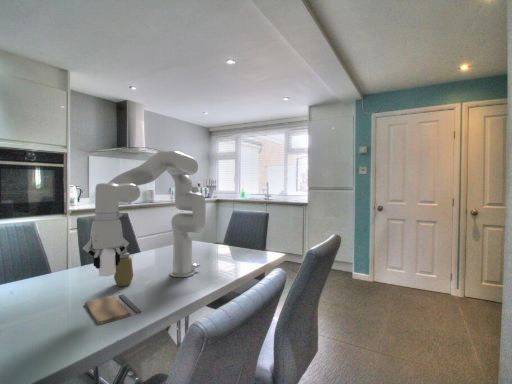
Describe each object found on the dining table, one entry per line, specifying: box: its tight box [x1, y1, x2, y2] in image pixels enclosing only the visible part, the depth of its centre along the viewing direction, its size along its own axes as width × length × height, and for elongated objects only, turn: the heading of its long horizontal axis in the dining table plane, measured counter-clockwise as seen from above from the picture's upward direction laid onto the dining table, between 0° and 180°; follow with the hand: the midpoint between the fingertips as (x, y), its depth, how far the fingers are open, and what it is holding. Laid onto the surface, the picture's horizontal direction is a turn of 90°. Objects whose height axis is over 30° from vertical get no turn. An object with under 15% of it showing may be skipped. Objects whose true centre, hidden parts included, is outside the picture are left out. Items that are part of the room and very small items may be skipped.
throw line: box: [118, 294, 142, 314], centre depth 108 cm, size 2×20×1 cm, turn 42°
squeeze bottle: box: [113, 247, 134, 287], centre depth 128 cm, size 8×8×18 cm
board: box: [84, 295, 131, 325], centre depth 103 cm, size 10×20×1 cm, turn 42°
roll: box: [98, 248, 116, 277], centre depth 102 cm, size 6×12×6 cm
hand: (106, 265), depth 102 cm, fingers closed on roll, 5 cm apart
